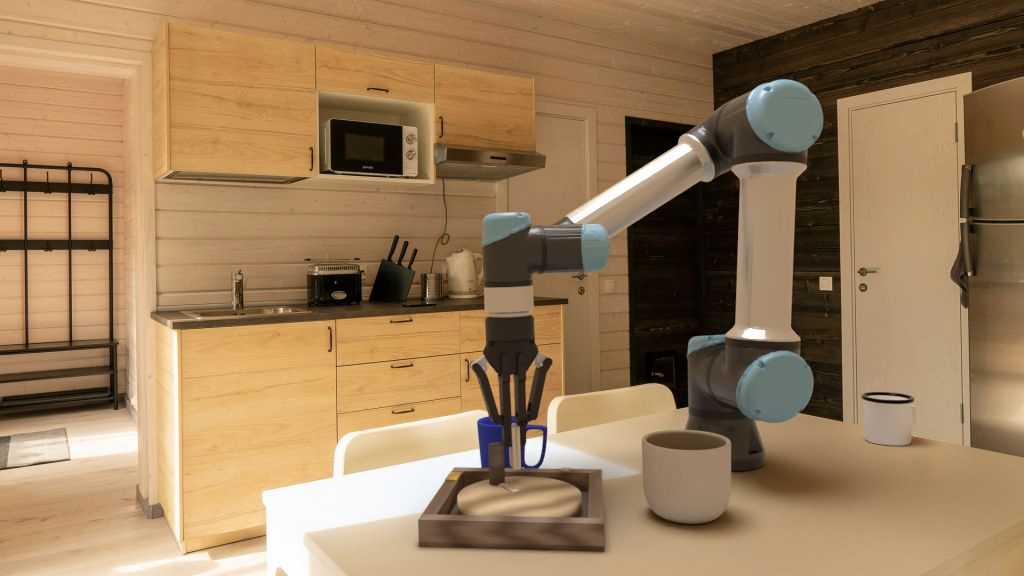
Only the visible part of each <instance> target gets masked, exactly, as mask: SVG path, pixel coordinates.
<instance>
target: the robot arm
mask: <svg viewBox="0 0 1024 576" xmlns="http://www.w3.org/2000/svg"><path fill="white" fill-rule="evenodd" d="M823 127H824V113H823V108H822V106H821V103H820V101H819V99H818V98H817V96H816V95H815V94H814V93H813V92H811V90H810V88H808V87H807V86H806V85H804V84H803V83H800V82H798V81H795V80H793V79H792V80H791V79H776V80H772V81H771V82H766V83H762V84H760V85H758V86H756V87H755V88H754V89H752V90H750V91H748V92H746V93H744V94H742V95H740V96H737V97H736V98H733V99H730V100H729V101H727V102H725V103H724V104H722V105H720V107H718V108H717V109H715V110H714V111H713V112H712V113H711V114H710V115H708V116H707V117H706V118H704V119H703V120H701V122H700V123H699V122H698V124H697V125H696V126H694V127H693V128H691V129H690V130H688V131H687V132H685V133H683V134H682V135H681V136H680V137H678V138H679V139H678V143H677V145H675V146H674V147H671V149H669V150H667V151H666V152H664V153H662V154H661V155H659V156H657V157H656V158H655V159H653V160H652V161H650V162H648V163H647V164H645V165H644V166H642V167H641V168H638V169H637V170H636V171H634V172H632V173H631V174H629V175H628V176H626V177H625V178H623V179H622V180H619V181H617V182H616V183H615V184H614V185H612V186H611V187H609V188H607V189H605V190H604V191H602V192H601V193H599V194H597V195H596V196H595V197H593V198H591V199H590V200H588V201H586V202H585V203H583V204H581V205H580V206H579V207H577V208H576V209H574V210H572V211H571V212H569V213H567V214H566V215H564V217H562V218H561V219H560V218H559V219H558V220H556V221H555V222H554V223H552V224H551V225H550V224H549V225H539V224H538V225H537V224H533V221H531V215H530V214H529V213H527V212H524V211H523V212H520V211H519V212H516V211H514V212H513V211H511V212H496V213H490V214H487V215H485V216H484V217H483V219H482V222H481V224H482V225H481V237H482V238H481V244H480V245H481V256H482V272H483V273H482V275H483V296H484V297H483V298H484V299H483V300H484V312H485V313H486V314H488V316H486V318H485V319H484V326H485V347H484V349H483V351H482V356H481V357H479V358H478V359H476V360H475V361H470V363H469V368H470V369H471V371H472V372H473V373H474V374H475V376H476V378H477V381H478V384H479V388H480V391H481V395H482V398H483V401H484V405H485V408H486V411H487V414H488V416H489V418H490V420H491V421H492V422H493V423H495V424H500V425H501V426H502V442H503V443H504V446H505V447H509V460H510V466H511V467H512V468H513V469H514V470H517V469H521V450H520V446H524V445H525V446H526V445H527V433H526V426H527V424H529V422H532V421H536V420H537V419H538V416H539V412H540V411H539V410H540V407H541V402H542V397H543V392H544V387H545V382H546V378H547V373H548V372H549V371H550V368H551V366H552V365H553V362H554V361H553V359H552V358H550V357H548V356H545V355H544V354H542V353H541V352H539V347H538V346H537V344H536V338H535V337H536V336H535V333H536V332H535V316H533V315H532V314H531V313H532V312H533V311H534V310H535V307H534V306H535V304H534V286H533V285H534V284H533V276H534V275H543V274H544V275H545V274H574V273H575V274H576V273H577V274H578V273H579V274H580V273H584V274H588V273H593V272H602V271H603V270H605V269H606V268H607V266H608V264H609V260H610V254H611V245H610V244H611V243H610V239H611V238H612V237H614V236H616V235H617V234H619V233H620V232H621V231H624V230H625V229H626V228H628V227H630V226H631V225H633V224H634V223H636V222H637V221H639V220H641V219H643V218H644V217H645V216H647V215H648V214H650V213H651V212H653V211H655V210H656V209H658V208H660V207H661V206H663V205H664V204H666V203H667V202H669V201H671V200H673V199H674V198H675V197H677V196H678V195H680V194H682V193H684V192H685V191H686V190H688V189H689V188H691V187H692V186H694V185H696V184H697V183H699V182H704V183H705V182H706V183H709V182H711V181H712V180H714V179H716V178H717V177H719V176H721V175H722V174H725V173H727V172H729V171H731V172H732V173H733V174H734V175H735V176H736V177H737V178H738V179H739V201H738V202H739V203H738V204H739V206H738V207H739V208H738V209H739V210H738V235H737V237H738V239H737V263H736V264H737V265H736V292H735V293H736V297H735V298H736V299H735V320H734V321H735V323H734V325H733V327H732V328H731V329H729V330H728V331H727V332H726V333H725V334H715V335H714V334H713V335H699V336H698V335H697V336H692V337H691V338H690V339H689V340H688V343H687V344H688V345H687V353H686V359H687V396H688V397H687V398H688V415H687V416H688V417H687V421H686V424H685V427H684V430H696V431H704V432H710V433H715V434H719V435H722V436H724V437H726V438H728V439H729V440H730V441H731V472H740V471H750V470H754V469H756V470H757V469H759V468H761V467H763V466H765V465H766V449H765V446H764V443H763V439H762V436H761V435H760V431H759V428H758V425H757V422H758V421H759V422H764V423H769V424H780V423H784V422H787V421H790V420H792V419H793V418H795V417H796V416H797V415H798V414H799V413H800V412H801V411H803V410H805V408H806V406H807V405H808V403H809V402H810V400H811V397H812V394H813V390H814V382H815V381H814V374H813V371H812V369H811V366H810V365H809V364H807V362H806V360H805V359H804V358H803V357H801V337H800V336H799V335H798V334H797V333H796V332H795V330H793V328H792V326H791V325H792V305H793V304H792V303H793V278H794V277H793V276H794V274H793V272H794V248H795V247H794V246H795V245H794V244H795V226H796V225H795V221H796V218H795V217H796V194H797V192H796V190H797V180H798V177H799V176H800V175H802V174H803V173H804V172H805V171H806V170H807V168H808V150H809V148H810V147H811V146H812V145H813V144H815V142H816V141H817V140H818V139H819V137H820V136H821V133H822V130H823ZM533 362H534V366H535V369H534V372H533V378H532V383H531V387H530V392H529V395H528V396H529V397H528V401H527V394H526V393H527V389H526V387H527V386H526V381H527V372H528V371H529V369H530V367H531V366H532V365H533ZM487 364H489V366H491V368H492V370H494V372H495V373H496V374H497V379H498V394H499V411H498V407H497V403H496V400H495V397H494V394H493V393H494V392H493V390H492V387H491V383H490V380H489V377H488V375H487V371H488V365H487ZM511 376H512V377H513V391H514V392H513V393H514V416H515V421H516V423H512V416H513V415H512V399H511ZM499 412H500V413H499Z"/></svg>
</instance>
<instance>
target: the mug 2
mask: <svg viewBox="0 0 1024 576" xmlns="http://www.w3.org/2000/svg"><path fill="white" fill-rule="evenodd" d="M860 398H861V399H862V400H863V439H864V440H865V441H867V442H869V443H871V444H874V445H880V446H888V447H903V446H907V445H910V444H911V443H912V429H914V428H915V427H916V424H917V408H916V406H915V405H913V404H912V403H914V402H915V397H914V396H913V395H908V394H905V393H900V392H899V393H898V392H889V391H868V392H864V393H861V395H860Z"/></svg>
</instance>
